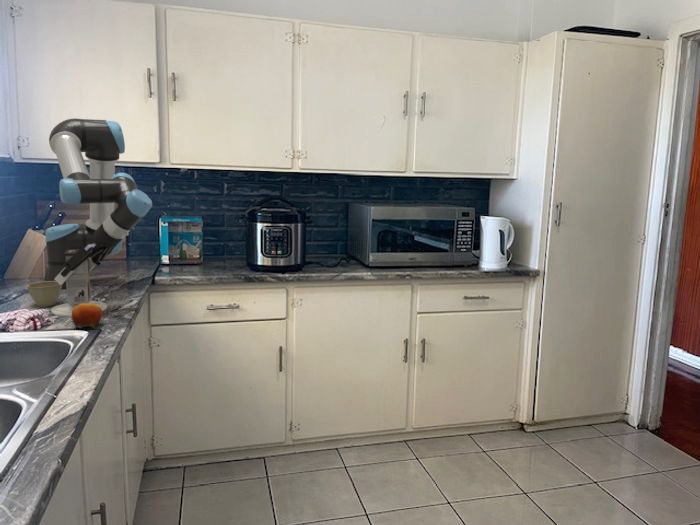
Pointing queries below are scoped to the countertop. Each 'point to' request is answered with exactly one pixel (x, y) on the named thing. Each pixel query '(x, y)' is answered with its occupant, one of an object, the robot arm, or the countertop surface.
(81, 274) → the coffee box
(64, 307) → the plate
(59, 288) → the flower pot
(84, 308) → the fruit
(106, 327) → the countertop surface
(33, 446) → the countertop surface
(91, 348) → the countertop surface
